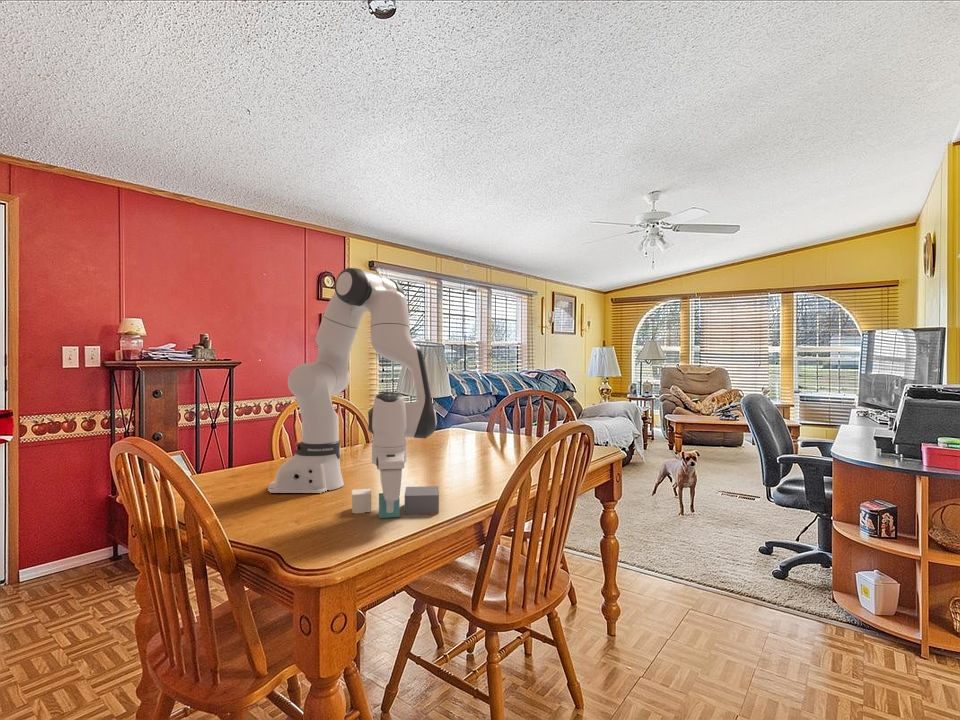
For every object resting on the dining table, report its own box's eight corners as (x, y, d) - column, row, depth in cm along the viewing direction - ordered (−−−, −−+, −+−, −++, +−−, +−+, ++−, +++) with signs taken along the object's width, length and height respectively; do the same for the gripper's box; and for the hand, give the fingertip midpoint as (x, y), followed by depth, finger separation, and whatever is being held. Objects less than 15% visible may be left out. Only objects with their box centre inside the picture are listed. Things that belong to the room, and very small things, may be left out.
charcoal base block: (404, 514, 140) (404, 495, 140) (405, 504, 149) (405, 486, 149) (438, 513, 141) (438, 495, 141) (438, 503, 150) (438, 486, 150)
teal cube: (379, 518, 136) (379, 498, 136) (378, 512, 141) (378, 493, 141) (399, 516, 137) (399, 497, 137) (397, 510, 142) (397, 492, 142)
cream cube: (351, 513, 140) (352, 494, 140) (352, 507, 145) (352, 489, 145) (371, 512, 141) (371, 493, 141) (370, 506, 146) (370, 488, 146)
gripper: (375, 448, 148) (374, 497, 148) (378, 464, 128) (378, 521, 128) (398, 447, 149) (397, 496, 150) (405, 463, 129) (404, 519, 130)
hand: (388, 508), depth 139 cm, fingers closed on teal cube, 5 cm apart
